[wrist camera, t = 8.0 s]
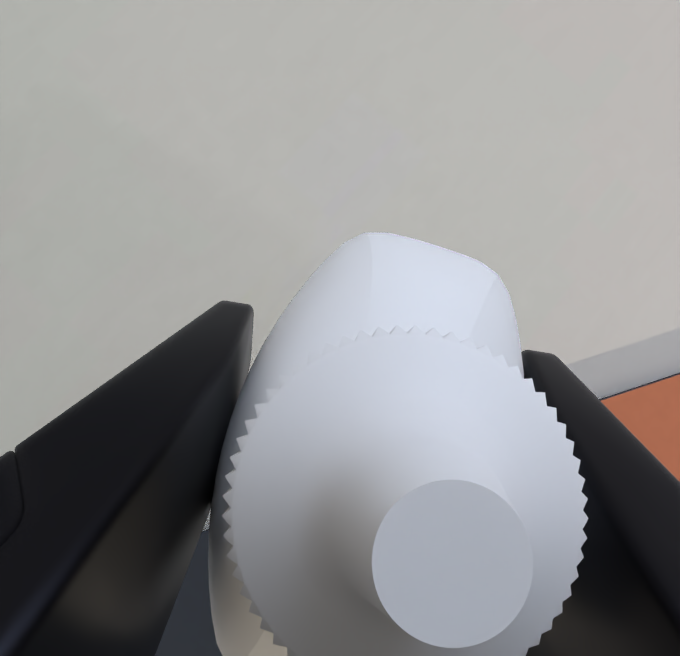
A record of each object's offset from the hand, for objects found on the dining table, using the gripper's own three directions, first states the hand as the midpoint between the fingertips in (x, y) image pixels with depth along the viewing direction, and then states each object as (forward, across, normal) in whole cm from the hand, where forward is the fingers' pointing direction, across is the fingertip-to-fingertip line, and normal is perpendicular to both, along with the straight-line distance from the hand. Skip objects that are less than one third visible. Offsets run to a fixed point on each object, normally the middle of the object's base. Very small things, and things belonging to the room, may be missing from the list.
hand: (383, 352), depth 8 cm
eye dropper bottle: (+4, 0, +6) cm, 7 cm away
